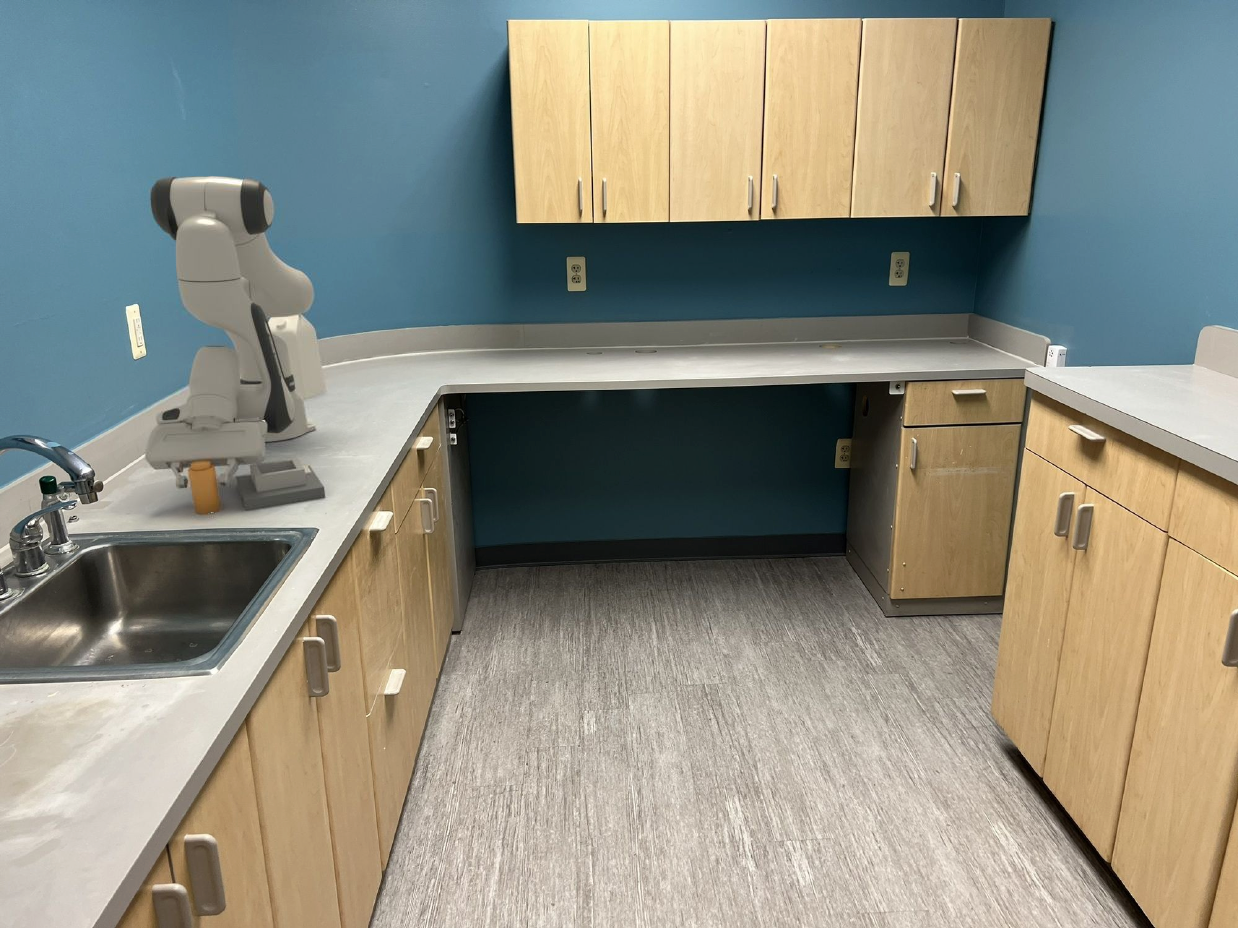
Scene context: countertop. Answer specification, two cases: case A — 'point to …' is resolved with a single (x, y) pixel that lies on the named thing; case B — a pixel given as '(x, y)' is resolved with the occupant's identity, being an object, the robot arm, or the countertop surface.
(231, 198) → the robot arm
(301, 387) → the milk
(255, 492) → the plate
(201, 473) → the orange bottle
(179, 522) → the countertop surface
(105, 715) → the countertop surface
